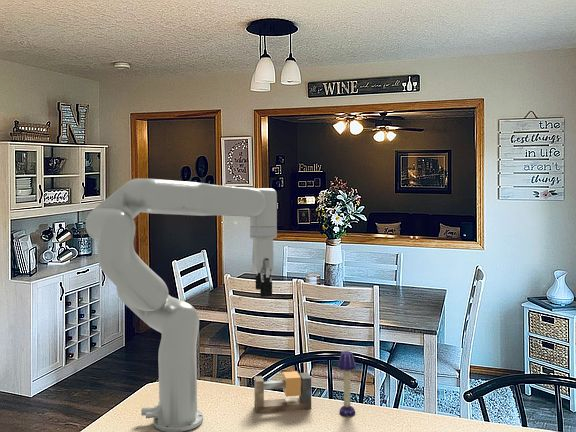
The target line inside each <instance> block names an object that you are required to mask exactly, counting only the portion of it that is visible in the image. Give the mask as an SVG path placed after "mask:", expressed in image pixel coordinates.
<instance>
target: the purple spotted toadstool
mask: <svg viewBox="0 0 576 432" xmlns="http://www.w3.org/2000/svg"><path fill="white" fill-rule="evenodd" d="M338 359H339V360H338V363H337V368H339V369H340V370H341V371H343V384H344V385H343V389H344V390H343V406H341V407H340V409H339V411H338V412H339V414H340V415H341V416H343V417H353V416H355V414H356V410H355V408H354V407H353V406H352V405H351V393H352V391H351V371H353V370H354V369H355V368H356V363H355V359H354V354H353V353H352V351H350V350H344V351H341V352H340V356H339V358H338Z"/></svg>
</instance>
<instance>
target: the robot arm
mask: <svg viewBox="0 0 576 432" xmlns="http://www.w3.org/2000/svg"><path fill="white" fill-rule="evenodd" d="M277 197H278V194H277V191H276V190H275V189H274V188H271V187H270V188H269V187H267V188H265V187H263V188H262V187H260V188H259V187H257V188H254V187H253V188H252V187H237V186H227V185H218V184H212V183H211V184H210V183H205V182H197V181H183V180H172V179H160V178H139V177H138V178H133V179H130V180H128V181H127V182H125V183H124V184H123V185H122V186H120V187H119V188H118V189H116V190H115V191H114V192H113V193H112V194H110V195H109V196H108V197H107V198H106V199H104V200H103V201H102V202H101V203H99V204H98V205H97V206H96V207H94V208H93V209H92V210H90V213H88V215H87V218H86V220H85V230H86V233H87V234H88V235H89V237H90V238H91V239H93V240H94V241H96V242H98V243H97V258H98V264H99V267H100V269H101V270H102V272H103V274H104V275H105V276H106V277H107V278H108V279H109V280H110V281H111V282H112V283H113V284H114V286H115V287H116V292H117V293H116V294H117V296H118V297H119V299H120V300H121V302H122V303H123V304H124V305H125V306H126V307H128V308H129V309H130V311H132V312H133V313H134V314H135V315H136V316H137V317H138V318H139V319H140V320H142V321H143V322H144V324H146V325H147V326H148V327H149V328H151V329H153V330H155V331H157V332H159V333H160V334H161V339H160V343H159V347H158V359H157V360H158V396H159V397H158V404H157V405H154V406H152V407H141V413H140V414H141V416H142V417H143V416H145V419H152V418H153V419H152V421H153V422H152V423H153V427H155V428H156V429H157V430H158V431H162V432H186V431H191V430H193V429H195V428H198V427H199V426H200V425H201V424H202V423H203V422H204V415H203V412H201V411H200V410H198V387H197V386H198V383H197V382H198V380H197V379H198V377H197V376H198V374H197V343H198V335H199V328H200V317H199V316H200V315H199V314H198V312H197V310H196V308H195V307H194V306H193V305H191V303H188V302H187V301H185V300H183V299H182V300H181V299H179V298H176V297H173V296H171V295H170V294H169V288H168V286H167V284H166V282H165V281H164V280H163V279H162V278H161V277H160V276H159V275H158V274H157V273H156V272H155V271H153V269H152V268H150V267H149V265H148V264H146V263H145V262H144V261H143V260H142V259H141V257H140V256H139V255H138V253H137V252H136V251H135V246H134V244H135V243H134V240H135V234H136V223H135V220H134V219H135V218H137V216H139V214H140V213H146V214H155V215H157V214H158V215H159V214H161V215H179V216H180V215H181V216H199V217H200V216H201V217H204V216H205V217H206V216H209V217H210V216H225V217H242V218H243V217H244V218H245V217H247V218H249V238H250V239H252V255H251V256H252V260H251V268H252V269H251V270H252V271H253V272H254V273H255V290H257V291H259V290H260V292H259V293H260V295H259V296H260V297H263V298H265V297H266V298H267V297H268V298H269V297H272V296H273V279H272V274H273V272H274V239H276V238H277V237H278V236H277V235H278V228H277V227H278V225H277V223H278V218H277V217H278V209H277V208H278V198H277Z"/></svg>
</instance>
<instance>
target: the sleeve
mask: <svg viewBox="0 0 576 432" xmlns="http://www.w3.org/2000/svg"><path fill="white" fill-rule="evenodd" d="M282 380H285V388H282V390H283V393H284V396H285V398H286V397H287V398H288V397H299V396H301V377H300V375H299V372H298V370H296V371H295V370H294V371H293V370H291V371H282Z"/></svg>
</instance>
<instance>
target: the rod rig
mask: <svg viewBox="0 0 576 432" xmlns="http://www.w3.org/2000/svg"><path fill="white" fill-rule="evenodd" d="M298 374H299V375H300V377H301V396H298V397H287V398H286V397H285V398H278V399H277V398H276V399H265V398H264V397H265V394H264V393H265V390H279V389H283V388H285V380H283V379H281V380H268V381H267V380H266V381H264V378H263V376H262V375H255V376H253V377H254V379H253V380H254V382H253V383H254V384H253V385H254V401H253V403H254V409H255V412H256V413H257V414H259V413H260V414H261V413H262V414H263V413H271V412H272V413H274V412H283V411H284V412H286V411H298V410H299V411H300V410H309V409H312V376H311V375H310V374H309V372H298Z"/></svg>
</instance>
